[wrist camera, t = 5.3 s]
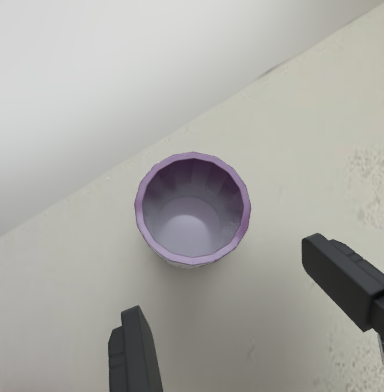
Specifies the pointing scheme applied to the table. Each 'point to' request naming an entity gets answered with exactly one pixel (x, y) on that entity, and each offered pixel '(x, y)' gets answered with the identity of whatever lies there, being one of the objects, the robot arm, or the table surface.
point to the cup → (192, 209)
